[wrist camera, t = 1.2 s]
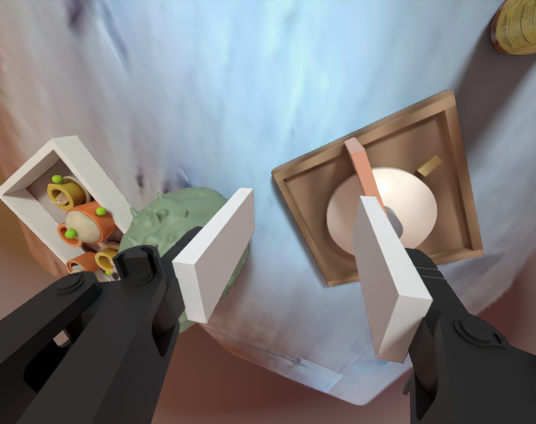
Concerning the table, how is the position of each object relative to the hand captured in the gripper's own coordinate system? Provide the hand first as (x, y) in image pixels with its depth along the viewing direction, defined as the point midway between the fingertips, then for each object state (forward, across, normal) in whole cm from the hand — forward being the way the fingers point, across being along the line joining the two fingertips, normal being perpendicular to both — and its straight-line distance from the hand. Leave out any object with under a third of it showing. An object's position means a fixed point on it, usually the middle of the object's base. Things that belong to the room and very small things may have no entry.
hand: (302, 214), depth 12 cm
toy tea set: (+21, -44, -20) cm, 52 cm away
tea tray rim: (+21, -44, -19) cm, 52 cm away
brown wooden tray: (+21, +9, -8) cm, 24 cm away
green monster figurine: (+21, -16, -13) cm, 29 cm away
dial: (+18, +8, -6) cm, 21 cm away
